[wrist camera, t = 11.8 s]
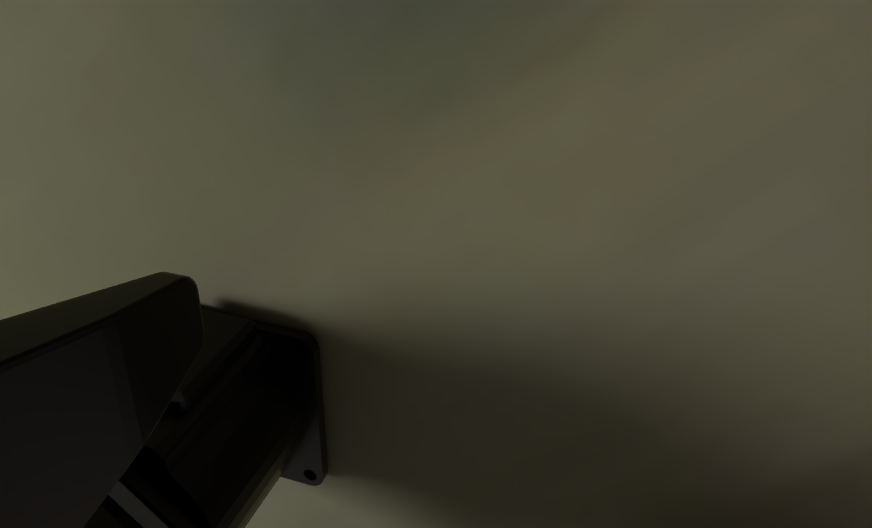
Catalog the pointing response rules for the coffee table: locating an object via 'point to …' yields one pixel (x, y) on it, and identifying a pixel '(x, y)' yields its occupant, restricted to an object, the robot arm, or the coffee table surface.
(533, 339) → the coffee table surface
